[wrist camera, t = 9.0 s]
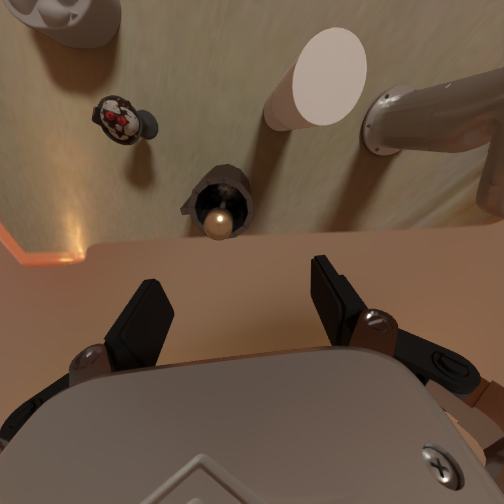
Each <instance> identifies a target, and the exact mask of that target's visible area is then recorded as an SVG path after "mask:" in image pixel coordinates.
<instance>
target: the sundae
mask: <svg viewBox="0 0 504 504" xmlns="http://www.w3.org/2000/svg"><path fill="white" fill-rule="evenodd" d="M92 121H93V122H94V123H96V124H98V125H100V126H101V127H102V129H103V131H104V132H105V134H106V135H107V136H108V137H109V138H110V139H112V140H113V141H115V142H117V143H119V144H122V145H132V144H134V143H135V142H137V140H138V139H139V137H140V136H141V137H143V138H146V139H151V138H153V137H155V136H156V134H157V132H158V124H157V121H156V119H155V118H154V116H153V115H152V114H151V113H149V112H147V111H145V110H139V111H136V110H135V108H134V107H133V106H132V105H131V103H130V102H129V101H126V100H125V99H123V98H121V97H119V96H114V95H111V96H107V97H105V98H103V99H102V100H101V101H100V102H99V104H98V107H94V109H93V114H92Z"/></svg>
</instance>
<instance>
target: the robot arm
mask: <svg viewBox="0 0 504 504" xmlns="http://www.w3.org/2000/svg"><path fill="white" fill-rule="evenodd" d="M362 135H363V141H364V144H365V146H366V147H367V149H368V150H369V151H370V152H372V153H374V154H376V155H383V156H386V155H391V154H394V153H396V152H398V151H400V150H402V149H406V150H419V151H432V152H447V153H459V152H465V151H468V150H472V149H475V148H477V147H480V146H482V145H484V144H486V143H488V142H490V145H489V149H488V155H487V158H486V161H485V165H484V168H483V172H482V175H481V178H480V182H479V186H478V190H477V194H476V203H477V206H478V207H479V209H480V210H482V211H483V212H485V213H486V214H488V215H491V216H494V217H497V218H501V219H504V67H502V68H499V69H495V70H492V71H488V72H484V73H481V74H477V75H473V76H470V77H466V78H462V79H459V80H455V81H451V82H447V83H443V84H439V85H436V86H432V87H428V88H424V89H420V90H419V89H418V88H416V87H414V86H412V85H400V86H396V87H393V88H391V89H389V90H387V91H386V92H384V93H383V94H382V95H380V96H379V97H378V98H377V99H376V101H375V102H374V103H373V104H372V106H371V107H370V109H369V111H368V113H367V115H366V117H365V120H364V124H363V134H362ZM311 298H312V299H313V302H314V305H315V307H316V309H317V312H318V314H319V316H320V319H321V321H322V324H323V326H324V328H325V331H326V333H327V336H328V338H329V340H330V343H331V345H332V346H322V347H312V348H301V349H292V350H283V351H274V352H265V353H257V354H248V355H240V356H232V357H223V358H215V359H207V360H199V361H192V362H183V363H176V364H167V365H160V366H155V365H156V362H157V359H158V357H159V354H160V352H161V349H162V346H163V344H164V341H165V339H166V336H167V333H168V331H169V328H170V325H171V323H172V320H173V318H174V310H173V308H172V306H171V304H170V302H169V300H168V298H167V296H166V294H165V292H164V290H163V288H162V286H161V284H160V282H159V281H157V280H156V279H148V280H144V281H143V282H142V284H141V285H140V287H139V288H138V289H137V291H136V292H135V294H134V295H133V297H132V298H131V300H130V301H129V303H128V304H127V305H126V307H125V308H124V310H123V312H122V313H121V314H120V316H119V317H118V319H117V320H116V322H115V323H114V325H113V326H112V327H111V329H110V330H109V332H108V333H107V335H106V336H105V338H104V339H105V343H104V344H95V345H91V346H89V347H87V348H86V349H84V350H83V351H81V352H80V353H79V354H78V355H77V356H76V357H75V358H74V359H73V360H72V362H71V364H70V367H69V373H68V374H66V375H64V376H63V377H62V378H60V379H59V380H57V381H56V382H54V383H53V384H51V385H50V386H49V387H47V388H45V389H44V390H42V391H41V392H39V393H38V394H36V395H35V396H33V397H32V398H30V399H29V400H28V401H26V402H25V403H23V404H22V405H21V406H19V407H18V408H17V409H16V410H15V411H14V412H13V413H12V414H11V415H10V416H9V417H8V418H7V420H6V421H5V422H4V424H3V426H2V427H1V430H0V504H504V387H502V386H501V385H499V384H498V383H496V382H494V381H491V382H488V381H487V380H485V379H484V378H482V377H481V376H480V374H479V372H478V370H477V369H476V368H475V366H474V365H473V364H472V363H470V361H468V360H467V359H465V358H464V357H463V356H461V355H459V354H457V353H455V352H453V351H451V350H449V349H446V348H444V347H441V346H439V345H436V344H434V343H432V342H430V341H427V340H425V339H423V338H420V337H418V336H416V335H413V334H411V333H409V332H406V331H404V330H402V329H399V328H398V324H397V322H396V320H395V319H394V318H393V317H392V316H391V315H390V314H388V313H386V312H384V311H382V310H378V309H368V308H367V307H366V305H365V304H364V302H363V301H362V299H361V298H360V297H359V295H358V294H357V293H356V291H355V290H354V288H353V287H352V286H351V284H350V283H349V282H348V280H347V279H346V277H345V276H344V275H338V273H337V272H336V270H335V269H334V267H333V266H332V264H331V263H330V262H329V260H328V259H327V257H326V256H325V255H319V256H315V257H314V259H312V260H311ZM444 411H446V412H448V413H449V414H450V415H452V416H453V417H454V418H455V419H457V420H458V422H457V423H458V424H459V425H460V426H461V427H462V428H464V429H465V430H466V431H467V432H468V433H470V435H471V436H473V438H475V439H476V441H477V442H478V443H479V445H480V446H481V448H482V449H483V451H484V454H485V457H486V464H485V467H484V466H483V464H482V463H481V461H480V460H479V459H478V457H477V456H476V454H475V453H474V451H473V450H472V449H471V447H470V446H469V444H468V443H467V442H466V440H465V439H464V438H463V436H462V435H461V434H460V432H459V431H458V429H457V428H456V427H455V425H454V424H453V422H452V421H451V420H450V418H449V417H448V416H447V414H446V413H445V412H444ZM422 449H423V450H422Z"/></svg>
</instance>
